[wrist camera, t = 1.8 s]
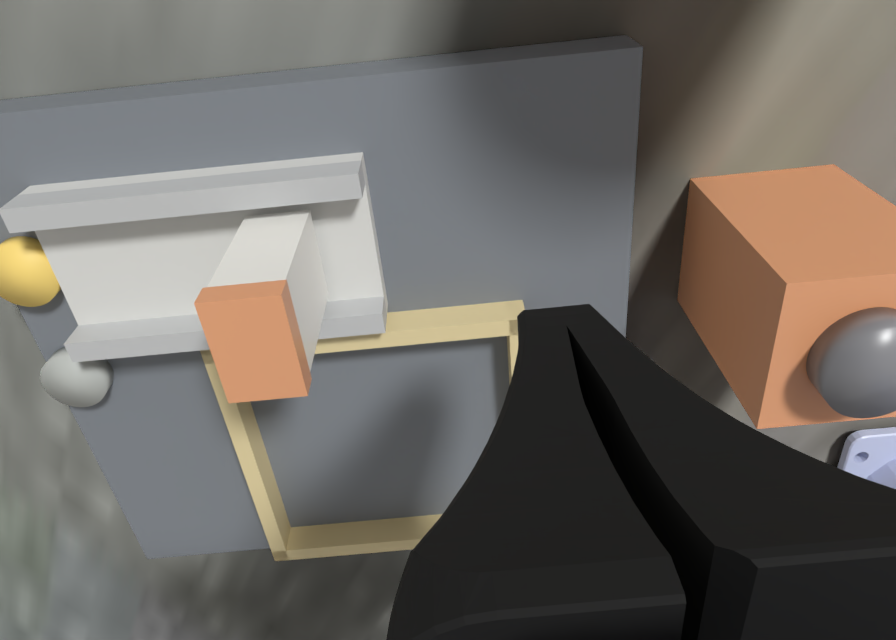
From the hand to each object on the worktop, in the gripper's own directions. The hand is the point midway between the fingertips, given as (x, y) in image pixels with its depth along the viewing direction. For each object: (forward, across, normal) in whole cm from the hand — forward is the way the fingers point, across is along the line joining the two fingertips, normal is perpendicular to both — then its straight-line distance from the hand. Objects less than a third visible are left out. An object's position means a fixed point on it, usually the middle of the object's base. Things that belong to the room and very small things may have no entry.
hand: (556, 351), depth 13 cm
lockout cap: (+8, -7, +2) cm, 11 cm away
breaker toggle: (+5, +6, 0) cm, 8 cm away
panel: (+8, +5, +4) cm, 10 cm away
